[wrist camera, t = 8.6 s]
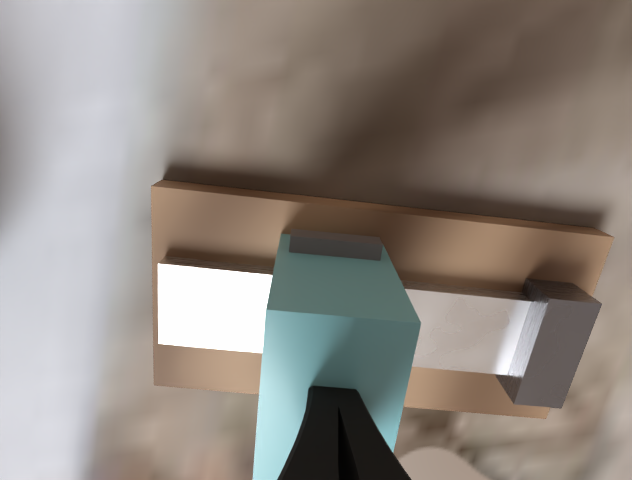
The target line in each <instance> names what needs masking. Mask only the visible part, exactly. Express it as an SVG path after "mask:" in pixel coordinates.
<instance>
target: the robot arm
mask: <svg viewBox="0 0 632 480" xmlns="http://www.w3.org/2000/svg"><path fill="white" fill-rule="evenodd" d="M277 480H411V479H410V477H409V476H408V474H407V473H406V472H405V470H404V469H403V467H402V466H401V464H400V463H399V461H398V460H397V458H396V457H395V455H394V454H393V452H392V450H391V449H390V447H389V446H388V444H387V442H386V441H385V439H384V438H383V436H382V434H381V433H380V431H379V429H378V428H377V426H376V424H375V422H374V420H373V419H372V417H371V415H370V413H369V411H368V409H367V407H366V406H365V404H364V402H363V400H362V398H361V396H360V393H359V392H358V391H357V390H356V389H349V388H337V387H325V386H314V385H313V386H311V387H310V388H308V395H307V402H306V410H305V413H304V417H303V420H302V423H301V426H300V429H299V431H298V434H297V437H296V440H295V442H294V445H293V447H292V449H291V451H290V453H289V456H288V458H287V460H286V462H285V465H284V467H283V469H282V471H281V473H280V475H279V477H278V479H277Z"/></svg>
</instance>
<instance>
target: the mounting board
mask: <svg viewBox="0 0 632 480" xmlns="http://www.w3.org/2000/svg"><path fill="white" fill-rule="evenodd" d="M151 215H152V287H153V359H154V385H155V386H167V387H179V388H191V389H202V390H214V391H226V392H237V393H249V394H259V389H260V376H261V363H262V353H257V352H246V351H235V350H224V349H213V348H202V347H191V346H180V345H169V344H159V323H158V263H159V262H160V261H161V260H162V259H163V258H164V256H170V257H180V258H190V259H200V260H209V261H219V262H229V263H239V264H249V265H258V266H268V267H274V265H275V260H276V255H277V250H278V245H279V240H280V235H281V234H290V235H291V229H300V230H310V231H321V232H331V233H341V234H351V235H362V236H372V237H380V240H381V242H382V243H383V245H384V247H385V249H386V251H387V253H388V256H389V258H390V260H391V262H392V264H393V266H394V268H395V270H396V272H397V274H398V276H399V278H400V280H406V281H415V282H425V283H435V284H445V285H455V286H464V287H474V288H484V289H494V290H504V291H513V292H521V291H522V288H523V285H524V282H525V279H526V278H531V279H540V280H550V281H559V282H569V283H574V284H575V285H576V286H578V287H579V288H581V289H582V290H583V291H585V292H586V293H588V294H589V295H590V296H592V295H593V293H594V290H595V287H596V285H597V282H598V279H599V277H600V274H601V271H602V269H603V266H604V263H605V261H606V258H607V256H608V253H609V250H610V248H611V245H612V242H613V240H614V237H613V236H610V235H608V234H606V233H604V232H602V231H600V230H598V229H596V228H590V227H581V226H572V225H563V224H554V223H546V222H537V221H528V220H519V219H510V218H501V217H492V216H483V215H474V214H465V213H456V212H447V211H438V210H429V209H420V208H411V207H402V206H393V205H384V204H375V203H366V202H357V201H348V200H339V199H330V198H321V197H312V196H304V195H295V194H286V193H277V192H268V191H259V190H250V189H241V188H232V187H223V186H214V185H205V184H196V183H187V182H178V181H169V180H161V181H159V182H157V183H155V184H154V185H152V186H151ZM495 375H496V374H488V373H477V372H466V371H455V370H444V369H433V368H422V367H412V368H411V373H410V377H409V382H408V387H407V391H406V396H405V400H404V405H403V407H413V408H424V409H436V410H448V411H459V412H471V413H483V414H494V415H506V416H518V417H530V418H541V419H546V418H547V415H548V412H549V410H550V407H538V406H527V405H515V404H513V402H512V401H511V399H510V398H509V396H508V395H507V393H506V392H505V390H504V389H503V387H502V386H501V384H500V382H499V381H498V379H497V378H496V376H495Z"/></svg>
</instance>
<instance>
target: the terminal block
mask: <svg viewBox="0 0 632 480" xmlns="http://www.w3.org/2000/svg"><path fill="white" fill-rule="evenodd" d="M420 327H421V321H420V319H419V317H418V315H417V313H416V311H415V309H414V307H413V305H412V303H411V301H410V299H409V297H408V295H407V293H406V291H405V289H404V286H403V284H402V282H401V280H400V278H399V276H398V274H397V272H396V270H395V268H394V266H393V264H392V262H391V260H390V258H389V256H388V253H387V251H386V249H385V247H384V245H383V243H382V242H381V240H380V237H372V236H362V235H351V234H341V233H331V232H321V231H310V230H300V229H291V235H290V234H281V235H280V240H279V245H278V250H277V255H276V260H275V265H274V270H273V275H272V280H271V285H270V290H269V295H268V300H267V305H266V310H265V323H264V336H263V349H262V363H261V376H260V389H259V403H258V416H257V429H256V443H255V456H254V469H253V480H277V479H278V477H279V475H280V473H281V471H282V469H283V467H284V465H285V462H286V460H287V458H288V456H289V453H290V451H291V449H292V447H293V445H294V442H295V440H296V437H297V434H298V431H299V429H300V426H301V423H302V420H303V417H304V413H305V410H306V402H307V395H308V388H310V387H311V386H313V385H314V386H325V387H337V388H349V389H356V390H357V391H358V392H359V393H360V396H361V398H362V400H363V402H364V404H365V406H366V407H367V409H368V411H369V413H370V415H371V417H372V419H373V420H374V422H375V424H376V426H377V428H378V429H379V431H380V433H381V434H382V436H383V438H384V439H385V441H386V442H387V444H388V446H389V447H390V449H391V450H392V452H393V451H394V446H395V442H396V437H397V432H398V428H399V423H400V419H401V414H402V410H403V405H404V400H405V396H406V391H407V387H408V382H409V377H410V373H411V368H412V364H413V359H414V354H415V350H416V345H417V341H418V336H419V331H420Z"/></svg>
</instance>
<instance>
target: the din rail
mask: <svg viewBox="0 0 632 480" xmlns="http://www.w3.org/2000/svg"><path fill="white" fill-rule="evenodd" d="M273 270H274V267H268V266H258V265H249V264H239V263H229V262H219V261H209V260H200V259H190V258H180V257H170V256H164V258H163V259H162V260H161V261H160V262H159V263H158V323H159V344H169V345H180V346H191V347H202V348H213V349H224V350H235V351H246V352H257V353H262V349H263V336H264V323H265V310H266V305H267V300H268V295H269V290H270V285H271V280H272V275H273ZM401 282H402V284H403V286H404V289H405V291H406V293H407V295H408V297H409V299H410V301H411V303H412V305H413V307H414V309H415V311H416V313H417V315H418V317H419V319H420V321H421V327H420V331H419V336H418V341H417V345H416V350H415V354H414V359H413V364H412V367H422V368H433V369H444V370H455V371H466V372H477V373H488V374H496V375H495V376H496V378H497V379H498V381H499V382H500V384H501V386H502V387H503V389H504V390H505V392H506V393H507V395H508V396H509V398H510V399H511V401H512V402H513V404H515V405H527V406H538V407H550V408H562V406H563V403H564V401H565V398H566V396H567V393H568V390H569V388H570V385H571V383H572V380H573V377H574V375H575V372H576V370H577V367H578V365H579V362H580V359H581V357H582V354H583V352H584V349H585V347H586V344H587V341H588V339H589V336H590V334H591V331H592V328H593V326H594V323H595V321H596V318H597V316H598V313H599V310H600V308H601V305H602V304H601V303H600V302H599V301H597V300H596V299H594V298H593V297H592V296H590V295H589V294H588V293H586V292H585V291H583V290H582V289H581V288H579V287H578V286H576V285H575V284H574V283H569V282H559V281H550V280H540V279H531V278H526V279H525V282H524V285H523V288H522V291H521V292H513V291H504V290H494V289H484V288H474V287H464V286H455V285H445V284H435V283H425V282H415V281H406V280H401Z"/></svg>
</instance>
